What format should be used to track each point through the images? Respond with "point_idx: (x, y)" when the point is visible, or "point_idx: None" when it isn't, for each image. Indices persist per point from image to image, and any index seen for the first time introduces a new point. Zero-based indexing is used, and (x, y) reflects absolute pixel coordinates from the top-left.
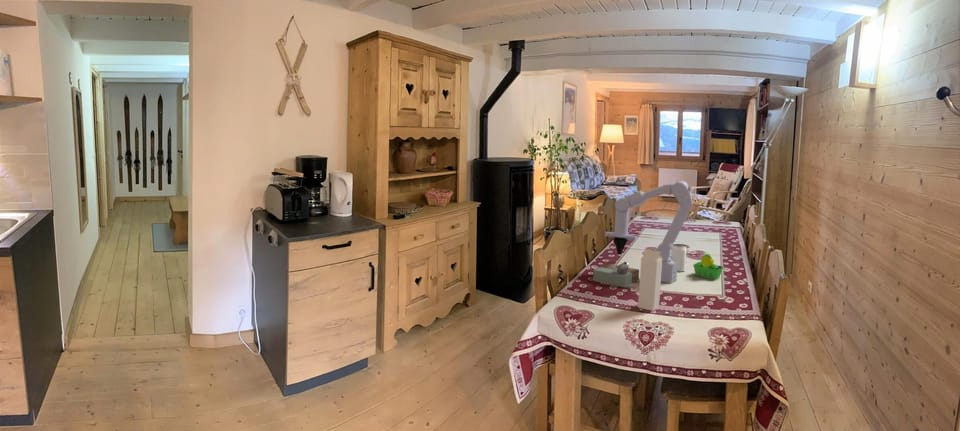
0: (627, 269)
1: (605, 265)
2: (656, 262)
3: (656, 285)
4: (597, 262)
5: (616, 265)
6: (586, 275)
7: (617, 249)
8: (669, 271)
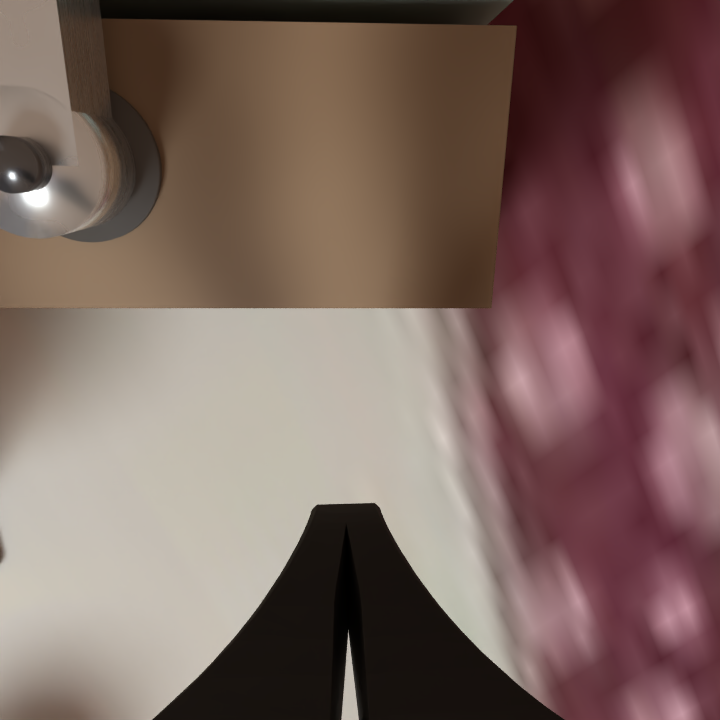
0: None
1: (471, 159)
2: None
3: None
4: (714, 623)
5: (319, 295)
6: (672, 15)
7: (384, 558)
8: None
